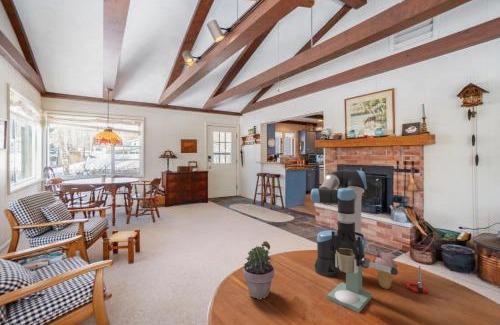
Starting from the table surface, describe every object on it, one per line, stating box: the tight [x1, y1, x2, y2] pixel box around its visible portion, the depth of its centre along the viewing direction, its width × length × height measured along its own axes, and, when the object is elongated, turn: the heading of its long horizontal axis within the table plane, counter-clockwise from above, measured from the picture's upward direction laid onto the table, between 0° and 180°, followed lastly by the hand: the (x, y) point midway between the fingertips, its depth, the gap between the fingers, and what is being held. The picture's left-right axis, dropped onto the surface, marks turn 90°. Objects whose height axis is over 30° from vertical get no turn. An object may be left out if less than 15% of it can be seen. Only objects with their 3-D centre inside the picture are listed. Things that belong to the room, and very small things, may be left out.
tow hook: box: [405, 265, 429, 294], centre depth 124 cm, size 8×13×9 cm
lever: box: [360, 257, 399, 276], centre depth 112 cm, size 16×3×4 cm, turn 45°
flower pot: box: [336, 248, 356, 274], centre depth 114 cm, size 9×9×9 cm
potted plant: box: [240, 241, 275, 300], centre depth 120 cm, size 18×20×25 cm
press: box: [326, 259, 373, 314], centre depth 116 cm, size 15×17×19 cm
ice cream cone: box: [372, 248, 398, 290], centre depth 126 cm, size 11×11×20 cm
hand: (346, 269), depth 114 cm, fingers closed on flower pot, 8 cm apart
